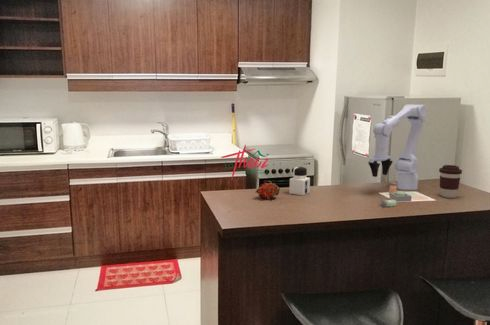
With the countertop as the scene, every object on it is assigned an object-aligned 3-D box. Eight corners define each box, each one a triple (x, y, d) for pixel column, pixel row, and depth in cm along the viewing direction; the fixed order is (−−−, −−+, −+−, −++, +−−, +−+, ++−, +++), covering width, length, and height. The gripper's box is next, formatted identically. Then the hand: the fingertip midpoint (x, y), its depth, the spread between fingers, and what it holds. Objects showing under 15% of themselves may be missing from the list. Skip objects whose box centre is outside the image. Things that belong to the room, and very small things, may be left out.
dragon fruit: (281, 201, 204) (257, 206, 203) (276, 188, 210) (253, 192, 208) (283, 189, 198) (257, 194, 196) (277, 176, 204) (253, 181, 202)
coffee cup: (437, 197, 206) (440, 167, 204) (436, 193, 215) (439, 163, 213) (460, 199, 202) (463, 168, 200) (458, 195, 211) (461, 165, 209)
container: (309, 192, 215) (310, 167, 213) (303, 195, 209) (304, 169, 207) (295, 190, 219) (296, 165, 217) (289, 193, 213) (289, 168, 211)
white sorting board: (415, 192, 216) (415, 186, 215) (436, 202, 198) (437, 195, 198) (378, 194, 212) (378, 187, 212) (396, 203, 195) (396, 196, 194)
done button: (402, 196, 201) (402, 190, 201) (406, 198, 198) (406, 192, 197) (394, 197, 201) (394, 190, 200) (398, 199, 197) (399, 192, 197)
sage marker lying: (392, 205, 191) (393, 198, 191) (396, 208, 188) (397, 200, 187) (380, 206, 190) (380, 199, 190) (383, 208, 187) (384, 200, 186)
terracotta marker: (394, 193, 210) (394, 181, 209) (397, 195, 207) (398, 183, 206) (387, 194, 210) (388, 182, 209) (391, 195, 206) (391, 183, 205)
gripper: (384, 146, 215) (382, 172, 217) (364, 148, 207) (363, 176, 209) (396, 147, 209) (394, 175, 212) (376, 150, 201) (375, 178, 204)
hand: (379, 175), depth 210 cm, fingers open, 7 cm apart
